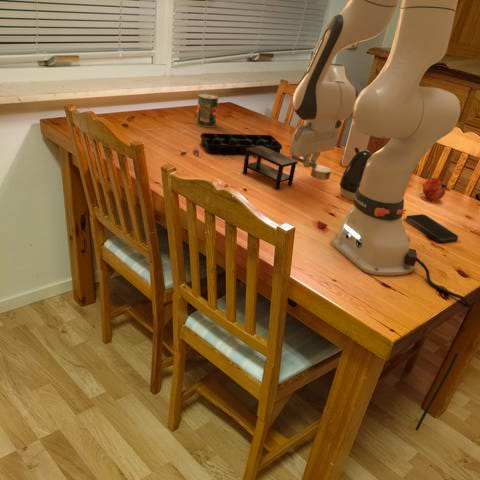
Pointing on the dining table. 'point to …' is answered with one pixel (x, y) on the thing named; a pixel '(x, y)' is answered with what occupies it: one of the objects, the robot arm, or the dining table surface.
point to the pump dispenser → (354, 174)
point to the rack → (267, 170)
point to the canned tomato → (207, 110)
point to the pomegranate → (433, 189)
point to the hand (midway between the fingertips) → (309, 166)
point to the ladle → (316, 169)
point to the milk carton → (354, 144)
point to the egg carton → (237, 142)
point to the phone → (431, 228)
